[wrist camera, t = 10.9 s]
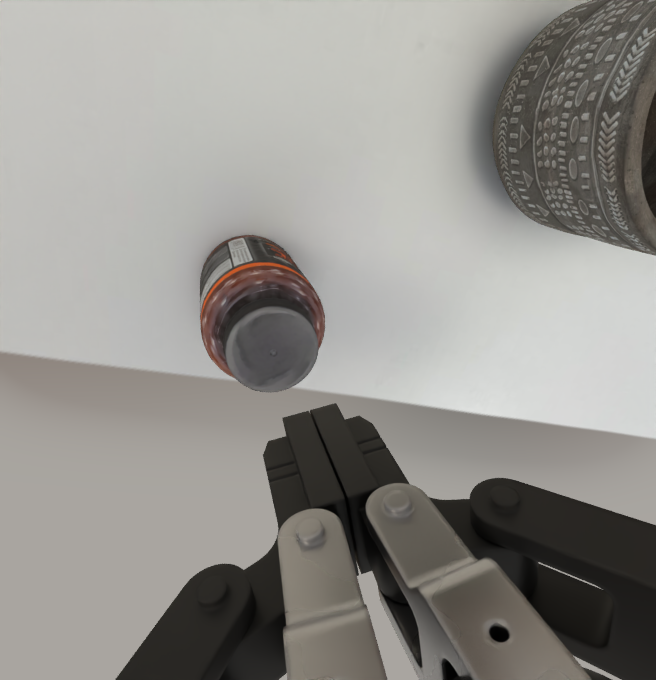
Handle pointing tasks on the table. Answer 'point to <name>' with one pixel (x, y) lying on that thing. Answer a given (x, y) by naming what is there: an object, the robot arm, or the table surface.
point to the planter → (585, 125)
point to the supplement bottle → (259, 314)
